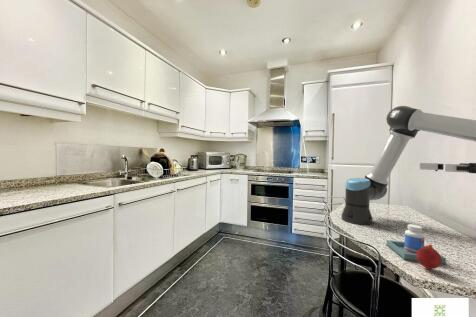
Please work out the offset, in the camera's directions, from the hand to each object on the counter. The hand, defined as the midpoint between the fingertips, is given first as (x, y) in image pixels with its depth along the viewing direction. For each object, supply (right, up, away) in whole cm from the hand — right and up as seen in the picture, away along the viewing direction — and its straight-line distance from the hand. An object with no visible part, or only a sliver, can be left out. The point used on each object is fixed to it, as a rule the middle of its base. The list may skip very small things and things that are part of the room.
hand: (430, 166), depth 80 cm
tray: (-11, -32, -5) cm, 34 cm away
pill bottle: (-11, -31, -5) cm, 34 cm away
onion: (-15, -32, -15) cm, 38 cm away
